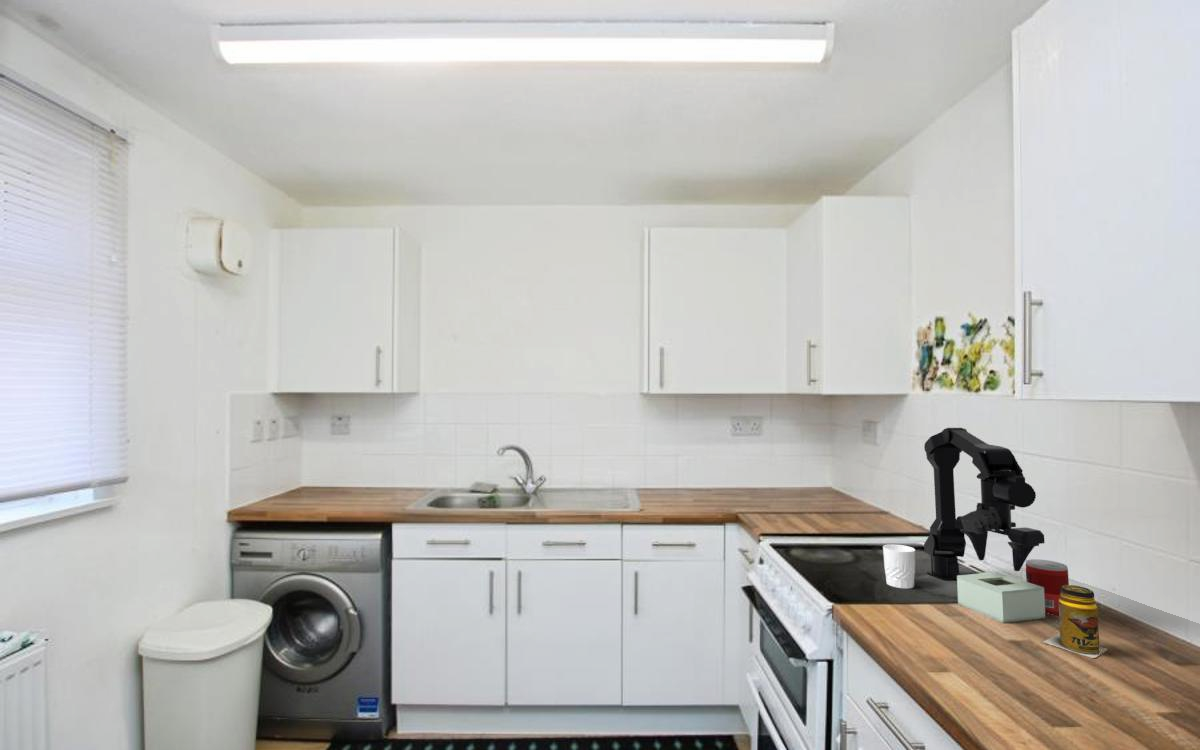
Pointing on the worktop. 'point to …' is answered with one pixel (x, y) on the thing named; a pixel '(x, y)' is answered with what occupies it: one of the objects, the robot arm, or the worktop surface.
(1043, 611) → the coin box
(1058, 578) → the canned food
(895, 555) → the white cup
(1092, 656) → the condiment
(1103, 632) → the worktop surface
